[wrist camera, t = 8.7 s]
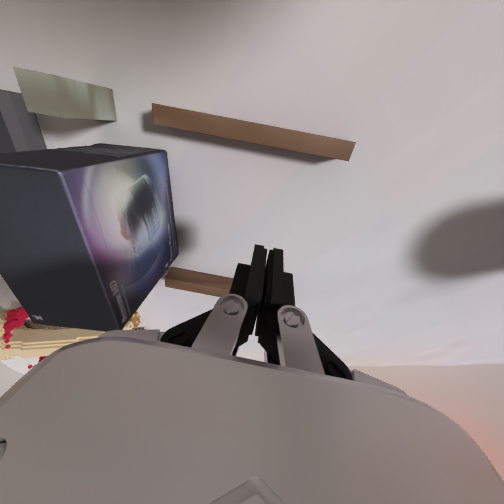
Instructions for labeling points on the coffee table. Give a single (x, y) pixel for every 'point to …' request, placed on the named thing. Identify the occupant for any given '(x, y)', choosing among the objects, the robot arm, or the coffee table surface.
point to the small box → (85, 232)
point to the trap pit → (18, 125)
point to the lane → (102, 108)
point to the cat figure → (40, 336)
